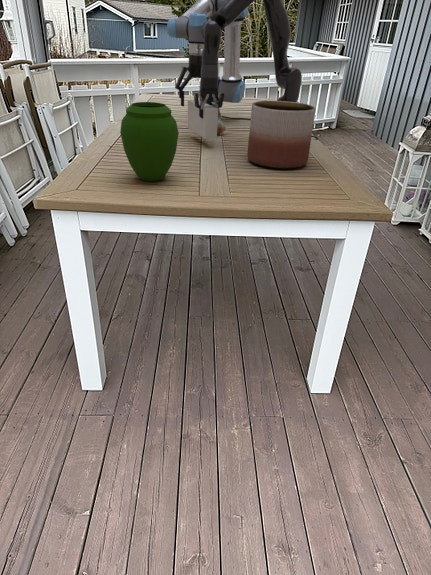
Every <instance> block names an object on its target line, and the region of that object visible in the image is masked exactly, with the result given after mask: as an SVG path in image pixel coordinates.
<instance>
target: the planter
mask: <svg viewBox="0 0 431 575" xmlns="http://www.w3.org/2000/svg"><path fill="white" fill-rule="evenodd" d="M316 109H317V108H316V107H315V106H313V105H311V104H308V103H302V102H297V103H296V102H287V101H277V100H259V101H255V102H252V104H251V113H250V119H251V120H250V122H249V123H250V124H249V131H248V132H249V133H248V142H247V153H246V155H247V159H248V160H249V161H250V162H251V163H253V164H255V165H257V166H259V167H264V168H267V169H268V168H269V169H274V170H275V169H277V170H292V169H298V168H301V167H303V166H305V165H306V164H307V163H308V161H309V155H310V151H311V142H312V137H311V136H313V129H314V122H315V116H316Z"/></svg>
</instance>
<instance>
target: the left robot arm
mask: <svg viewBox="0 0 431 575" xmlns="http://www.w3.org/2000/svg"><path fill="white" fill-rule="evenodd" d="M226 1H227V0H195V3H194V4H192V5H191V6H190V7H189V8H188V9H187V10H186V11H185V12H184V13H183V14H182V15H180V16H179V17H177V18H169V19H168V20H167V24H166V30H167V34H168V36H169V37H170V38H175V39H188V54H189V55H188V66H187V67H186V66H185V65H183V66H181V72H180V74H179V77H178V79H177V81H176V83H175V86H174V89H175V90H178V99H180V106H181V107H185V90H184V89H185V88H186V86H187V85H188V83H189V82H190V81H191V80H192V79H200V80H199V86H198V87H199V91H200V90H201V66H202V51H203V49H204V38H203V37H202V34H201V28H202V25H203V24H204V23H205V22H206V21H207V20H208V18H210V17H211V16H212V15H213V14H215V13H216V12H217V11H218V10H219V9H220V8H221V7H222V6H223V5H224V3H225V2H226ZM248 12H249V6H248V7H247V8H246V9H245V10H244V11H243V12H242V13H241V14H240V15H239V16H238V17H237V18H236V19H235V20H234V21H233V22H232V23H231V24H230V25H228V26H226V27H225V28H224V53H223V54H224V55H223V56H224V58H223V62H224V65H223V66H224V67H223V68H224V70H223V72H224V73H223V75H222V76H219V75H218V92H219V93H224V99H223V103H231V104H239V103H240V102H241V101H242V100H243V98H244V95H245V89H246V82H245V81H244V80H243V76H242V75H241V74H240V66H241V64H240V63H241V31H242V30H241V27H242V23H244V21H245V18H246V17H247V16H248ZM187 72H188V74H187V76H186V73H187ZM185 76H186V78H185V79H184V77H185ZM198 99H199V101H201V99H202V97H201V96H199V98H198ZM218 100H219V97H218V96H217V97H216V101H217V105H218ZM206 104H209V105H211V106H213V104H212V102H206ZM213 107H214V106H213ZM218 118H220V119H221V120H222V118H224V119H229V120H243V121H244V120H245V121H251V118H248V117H231V116H225V115H222V114H221V110H220V108H218Z"/></svg>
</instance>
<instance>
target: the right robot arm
mask: <svg viewBox="0 0 431 575" xmlns="http://www.w3.org/2000/svg"><path fill="white" fill-rule="evenodd" d="M255 1H256V0H227V1H226V2H225V3H224V5H223V6H222V7H221V8H220V9H219V10H218V11H217V12H216V13H215V14H213V15H212V16H209V17H208V18H207V19H206V20H207V21H206V22H205V23H204V24H203V25H202V28H201V34H202V37H203V38H204V49H203V51H202V66H201V78H200V80H201V90H200V89H199V92H193V100H194V102H195V107H197V108H199V117H200V118H203V108H204V105H205V104H206V102H212V104H213V106H214V107H215V108H219V109H220V108H223V104H224V102H223V99H224V93H219V92H218V76H219V53H220V52H219V51H220V48H221V47H220V46H221V40H222V31H223V30H225V27H226V26H228V25H230V24H231V23H232V22H233V21H234V20H235V19H236V18H237V17H238V16H239V15H240V14H241V13H242V12H243V11H244V10H245V9H246V8H247V7H248V8H249V7H250V6H251V5H252V4H253V3H254V2H255ZM262 3H263V9H264V14H265V19H266V20H265V21H266V26H267V31H268V36H269V40H270V46H271V51H272V52H271V53H272V56H273V65H274V75H275V82H276V85H277V87H278V88H280V89H282V90H284V92H283V95H282V96H280V97H278V98H277V100H276V101H287V102H296V103H298V101H299V98H300V93H301V89H302V88H301V87H302V83H303V74H302V71H301V69H299V68H297V67H292V66H290V64H289V59H288V49H289V46H290V42H291V38H292V31H291V23H290V19H289V14H288V11H287V10H286V7H285V5H284V2H283V0H262ZM199 96H201V97H202V99H201V102H200V105H199ZM217 96H218V97H219V100H218V105H217V101H216V97H217ZM311 138H314V139H316V140H319V137H317V136H316V135H312V136H311Z"/></svg>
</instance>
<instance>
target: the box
mask: <svg viewBox="0 0 431 575" xmlns="http://www.w3.org/2000/svg"><path fill="white" fill-rule="evenodd" d="M200 102H201V101H199V105H200ZM217 123H218V108H215V107H213V106H211V105H209V104H205V105H204V108H203V118H200V117H199V108H197V107H195V102H194V99H188V100H187V129H188V130H190V131H191V132H192V133H195V134H196V135H198V136H199V137H201V138H203V139H204V140H217V139H218V134H217Z"/></svg>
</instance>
